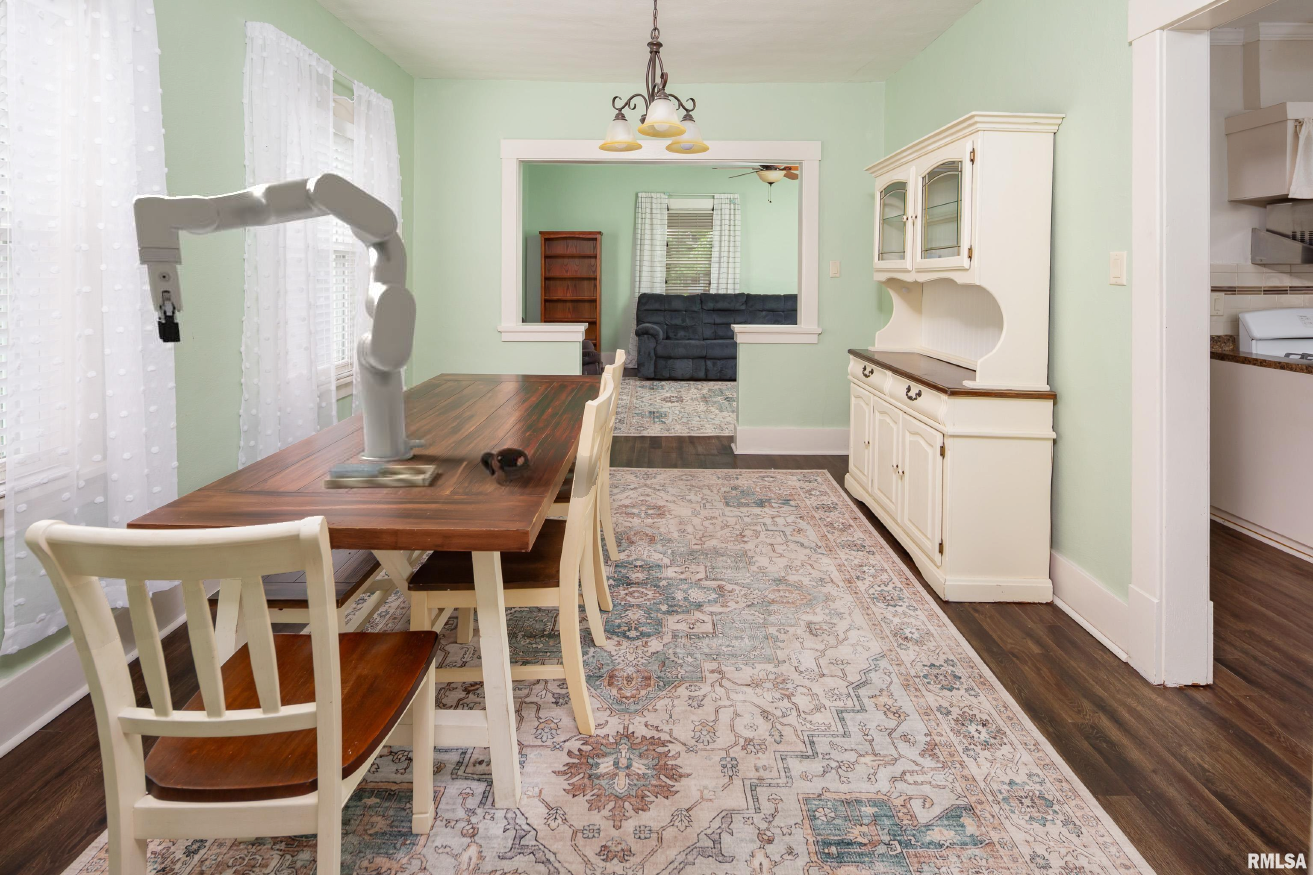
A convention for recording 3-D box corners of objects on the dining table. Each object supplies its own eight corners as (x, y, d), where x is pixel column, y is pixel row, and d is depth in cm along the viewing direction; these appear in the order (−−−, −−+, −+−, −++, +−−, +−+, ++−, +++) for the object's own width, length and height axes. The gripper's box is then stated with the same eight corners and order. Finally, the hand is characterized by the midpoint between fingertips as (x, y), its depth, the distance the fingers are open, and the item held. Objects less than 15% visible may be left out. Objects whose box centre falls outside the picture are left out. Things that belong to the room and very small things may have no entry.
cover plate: (386, 475, 180) (385, 462, 179) (379, 483, 173) (378, 469, 172) (339, 476, 179) (338, 463, 178) (330, 484, 172) (329, 470, 172)
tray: (436, 475, 183) (436, 465, 183) (427, 488, 172) (426, 478, 171) (340, 476, 181) (340, 467, 181) (324, 490, 170) (323, 480, 169)
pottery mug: (537, 477, 184) (538, 450, 179) (519, 504, 177) (520, 477, 172) (488, 461, 186) (488, 434, 180) (469, 488, 179) (468, 460, 173)
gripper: (185, 257, 163) (194, 342, 167) (178, 258, 177) (186, 337, 181) (141, 256, 159) (151, 344, 162) (137, 258, 173) (147, 339, 177)
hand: (169, 340), depth 172 cm, fingers open, 9 cm apart
